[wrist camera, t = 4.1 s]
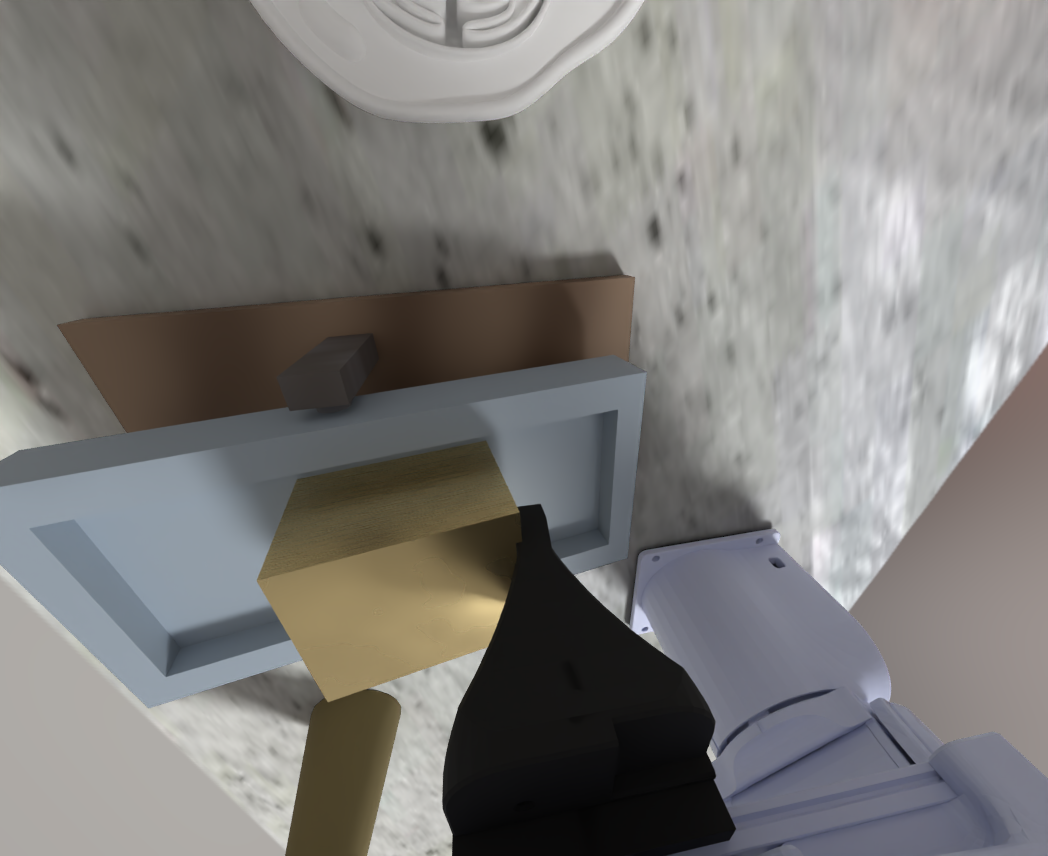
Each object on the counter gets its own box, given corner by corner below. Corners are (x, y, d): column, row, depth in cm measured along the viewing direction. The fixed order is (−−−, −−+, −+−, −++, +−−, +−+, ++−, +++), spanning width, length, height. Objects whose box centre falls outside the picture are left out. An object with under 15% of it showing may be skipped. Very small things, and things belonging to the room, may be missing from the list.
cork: (291, 719, 26) (190, 1012, 16) (354, 678, 25) (288, 964, 15) (359, 744, 28) (308, 1007, 19) (418, 708, 27) (397, 966, 18)
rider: (486, 440, 13) (519, 512, 9) (499, 544, 15) (529, 632, 12) (296, 479, 11) (256, 580, 8) (343, 588, 14) (327, 702, 10)
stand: (624, 274, 15) (699, 292, 10) (608, 529, 22) (649, 610, 17) (83, 318, 13) (-131, 366, 8) (246, 587, 20) (179, 698, 15)
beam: (614, 347, 14) (648, 363, 12) (603, 530, 19) (626, 562, 17) (11, 440, 10) (-79, 488, 8) (184, 650, 14) (153, 713, 12)
